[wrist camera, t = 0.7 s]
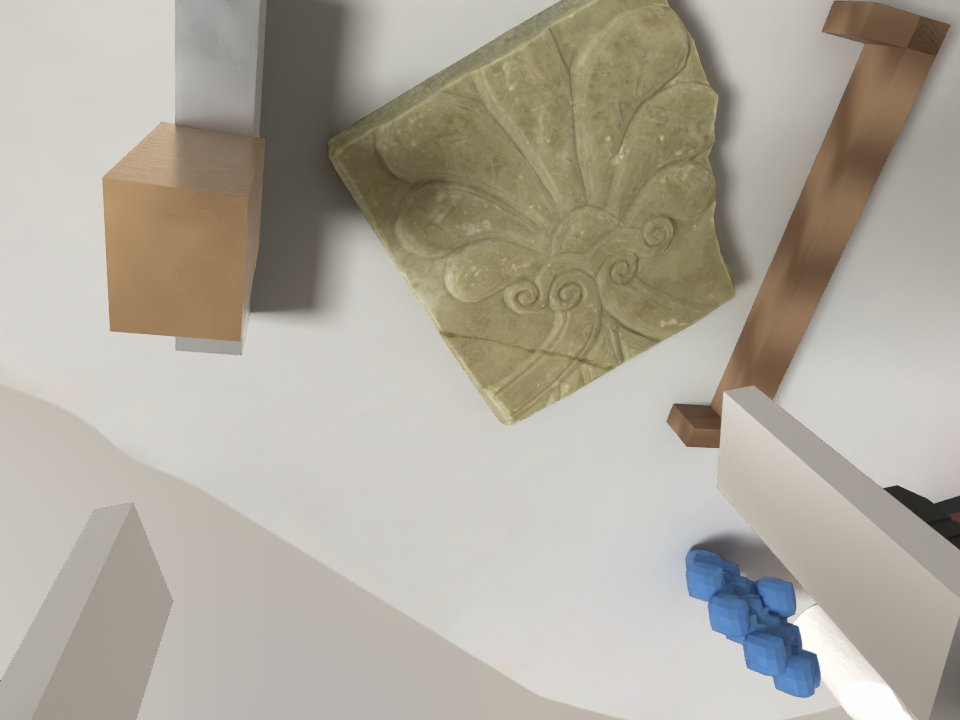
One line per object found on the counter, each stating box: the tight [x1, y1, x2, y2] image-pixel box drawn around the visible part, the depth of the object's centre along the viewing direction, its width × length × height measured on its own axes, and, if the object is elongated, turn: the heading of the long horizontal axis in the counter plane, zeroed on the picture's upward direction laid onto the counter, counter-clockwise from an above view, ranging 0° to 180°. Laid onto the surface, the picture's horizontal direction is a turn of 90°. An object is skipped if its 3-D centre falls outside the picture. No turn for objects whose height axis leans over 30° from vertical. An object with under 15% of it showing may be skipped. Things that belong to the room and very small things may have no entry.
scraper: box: [102, 0, 267, 355], centre depth 27 cm, size 16×4×14 cm, turn 168°
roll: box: [793, 604, 913, 720], centre depth 59 cm, size 6×12×6 cm
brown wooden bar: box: [667, 1, 950, 448], centre depth 41 cm, size 27×5×3 cm, turn 168°
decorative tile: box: [328, 0, 735, 425], centre depth 37 cm, size 19×20×4 cm
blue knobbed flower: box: [685, 549, 821, 698], centre depth 51 cm, size 12×7×12 cm, turn 49°
